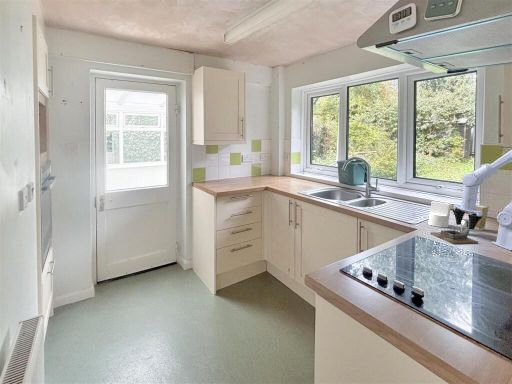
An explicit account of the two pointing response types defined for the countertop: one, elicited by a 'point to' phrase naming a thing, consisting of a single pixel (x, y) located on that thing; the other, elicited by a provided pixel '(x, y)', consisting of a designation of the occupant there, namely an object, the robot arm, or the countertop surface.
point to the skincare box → (482, 221)
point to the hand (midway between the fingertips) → (464, 226)
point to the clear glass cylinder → (464, 226)
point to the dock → (454, 237)
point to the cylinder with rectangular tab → (439, 214)
